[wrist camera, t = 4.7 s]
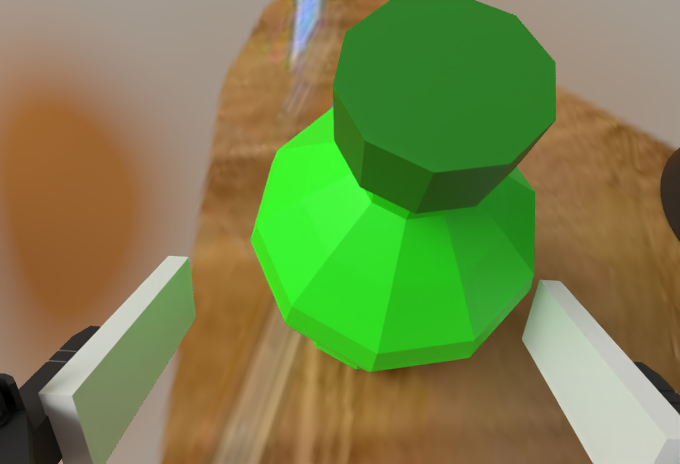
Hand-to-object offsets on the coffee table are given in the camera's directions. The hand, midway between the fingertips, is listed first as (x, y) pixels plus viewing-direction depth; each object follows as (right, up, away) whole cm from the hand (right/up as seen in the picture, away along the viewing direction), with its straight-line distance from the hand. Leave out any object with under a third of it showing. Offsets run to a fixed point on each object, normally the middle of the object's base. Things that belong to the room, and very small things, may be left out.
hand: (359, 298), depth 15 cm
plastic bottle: (+1, -3, +16) cm, 16 cm away
